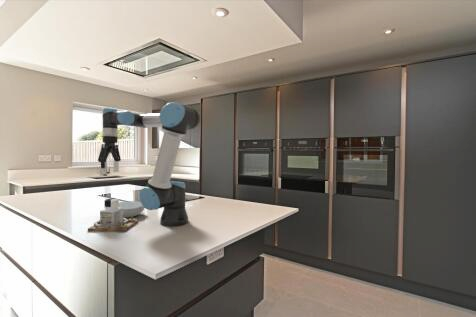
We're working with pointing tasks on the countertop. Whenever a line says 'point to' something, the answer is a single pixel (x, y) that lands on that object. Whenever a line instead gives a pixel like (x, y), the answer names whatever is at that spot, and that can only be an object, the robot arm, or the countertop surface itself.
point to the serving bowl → (131, 208)
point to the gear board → (114, 226)
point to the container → (111, 213)
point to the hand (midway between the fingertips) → (110, 173)
